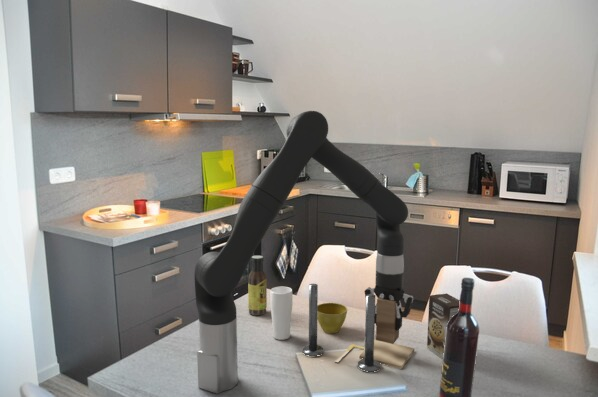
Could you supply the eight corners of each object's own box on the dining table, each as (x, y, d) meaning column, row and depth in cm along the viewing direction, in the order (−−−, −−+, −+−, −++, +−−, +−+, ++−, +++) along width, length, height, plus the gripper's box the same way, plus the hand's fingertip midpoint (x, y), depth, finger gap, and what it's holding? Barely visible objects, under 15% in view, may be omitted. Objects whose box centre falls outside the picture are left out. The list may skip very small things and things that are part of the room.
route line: (351, 367, 128) (351, 366, 128) (334, 362, 131) (334, 361, 131) (367, 349, 139) (367, 348, 138) (351, 345, 141) (352, 344, 141)
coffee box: (425, 348, 139) (428, 295, 137) (444, 344, 141) (446, 292, 139) (445, 362, 131) (448, 306, 128) (464, 358, 133) (468, 303, 131)
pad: (401, 369, 127) (401, 366, 127) (359, 358, 133) (359, 355, 133) (414, 350, 137) (414, 348, 137) (374, 341, 143) (374, 339, 143)
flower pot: (319, 321, 158) (319, 301, 156) (349, 325, 155) (349, 304, 154) (311, 334, 148) (311, 312, 147) (343, 338, 145) (344, 316, 144)
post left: (317, 359, 133) (318, 290, 129) (298, 353, 136) (298, 286, 132) (327, 350, 138) (327, 283, 135) (308, 345, 141) (309, 280, 138)
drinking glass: (293, 332, 149) (293, 286, 147) (291, 342, 143) (291, 294, 140) (272, 331, 150) (271, 285, 148) (268, 341, 143) (268, 293, 141)
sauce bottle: (262, 317, 161) (262, 260, 158) (245, 315, 163) (244, 258, 160) (269, 310, 167) (268, 255, 164) (252, 308, 169) (251, 253, 166)
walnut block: (393, 344, 131) (394, 302, 129) (375, 340, 134) (377, 299, 132) (398, 337, 135) (400, 296, 134) (382, 333, 138) (383, 293, 136)
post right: (375, 374, 124) (377, 301, 121) (354, 368, 127) (355, 297, 124) (383, 364, 130) (385, 294, 126) (362, 359, 132) (364, 290, 129)
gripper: (360, 268, 132) (358, 327, 134) (411, 276, 125) (409, 338, 127) (370, 261, 138) (368, 317, 141) (419, 269, 131) (416, 327, 134)
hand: (387, 327), depth 134 cm, fingers closed on walnut block, 5 cm apart
